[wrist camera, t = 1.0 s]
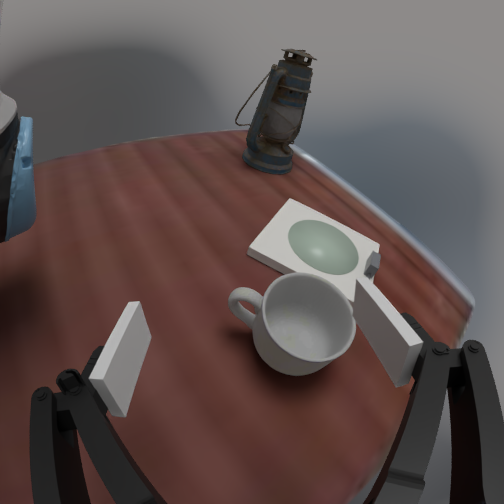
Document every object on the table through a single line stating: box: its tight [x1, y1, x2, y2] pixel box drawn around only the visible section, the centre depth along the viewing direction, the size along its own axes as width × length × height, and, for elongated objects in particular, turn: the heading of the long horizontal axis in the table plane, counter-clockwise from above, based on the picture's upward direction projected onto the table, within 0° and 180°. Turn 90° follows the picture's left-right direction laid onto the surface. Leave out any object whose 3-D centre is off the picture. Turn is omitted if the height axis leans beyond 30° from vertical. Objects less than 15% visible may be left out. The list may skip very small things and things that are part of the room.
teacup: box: [228, 272, 356, 376], centre depth 31 cm, size 14×11×8 cm
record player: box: [247, 198, 381, 308], centre depth 47 cm, size 20×18×4 cm
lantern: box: [235, 49, 316, 174], centre depth 59 cm, size 19×14×30 cm
